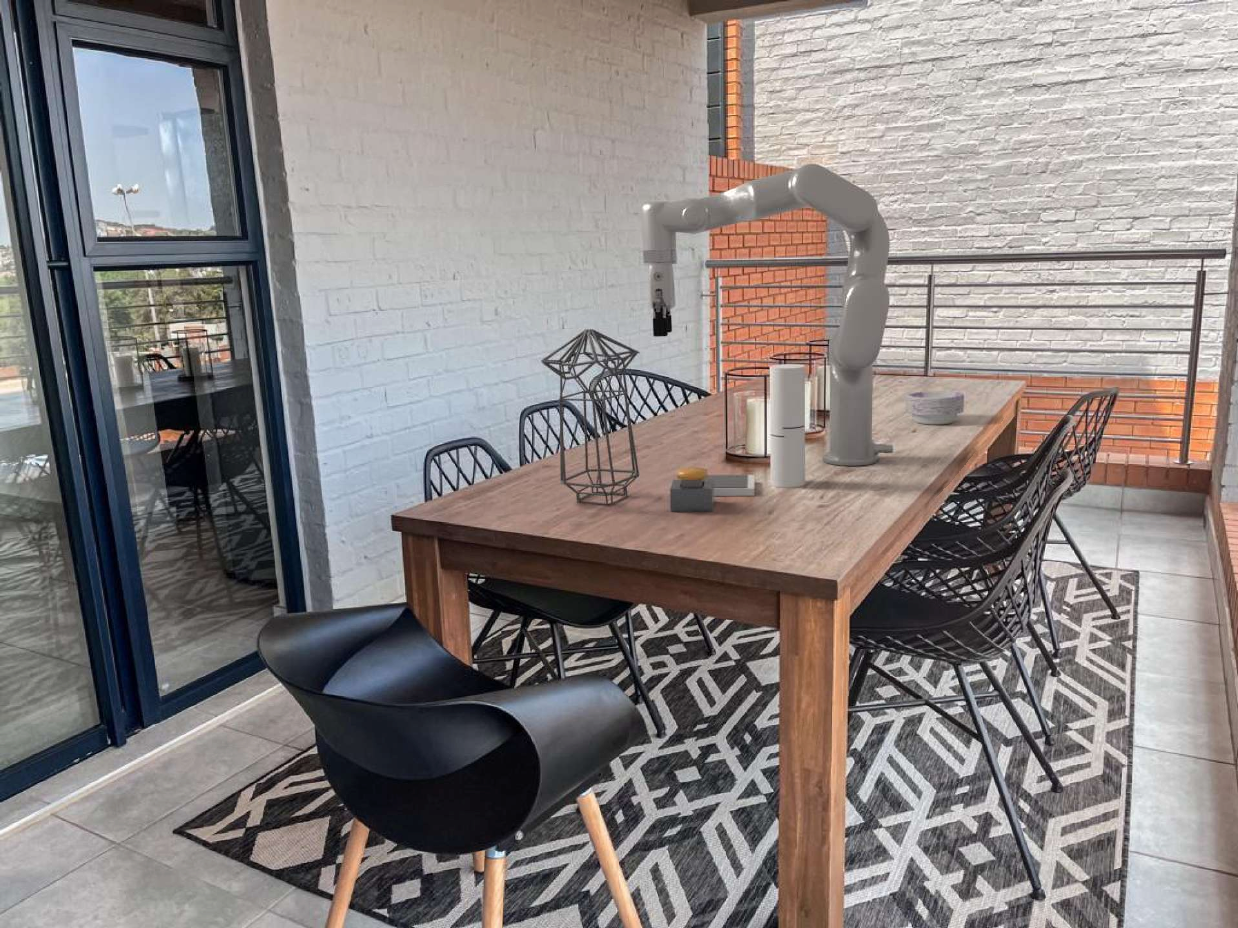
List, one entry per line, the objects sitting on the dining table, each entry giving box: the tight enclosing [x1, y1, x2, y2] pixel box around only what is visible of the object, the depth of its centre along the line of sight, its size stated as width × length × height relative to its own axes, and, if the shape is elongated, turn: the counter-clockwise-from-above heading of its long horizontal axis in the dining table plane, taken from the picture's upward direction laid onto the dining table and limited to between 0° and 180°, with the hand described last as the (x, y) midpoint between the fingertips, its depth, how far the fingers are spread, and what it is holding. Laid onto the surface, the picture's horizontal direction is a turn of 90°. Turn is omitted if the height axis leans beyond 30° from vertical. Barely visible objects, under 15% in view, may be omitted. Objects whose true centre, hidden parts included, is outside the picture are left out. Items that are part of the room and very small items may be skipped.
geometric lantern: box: [540, 328, 640, 506], centre depth 195 cm, size 16×16×35 cm
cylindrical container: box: [769, 363, 806, 489], centre depth 202 cm, size 7×7×25 cm
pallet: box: [704, 474, 755, 497], centre depth 203 cm, size 14×12×2 cm
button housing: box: [669, 478, 715, 513], centre depth 189 cm, size 8×8×4 cm
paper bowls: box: [905, 390, 965, 426], centre depth 265 cm, size 15×15×8 cm
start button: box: [676, 466, 708, 487], centre depth 189 cm, size 6×6×5 cm
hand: (662, 334), depth 222 cm, fingers open, 9 cm apart
